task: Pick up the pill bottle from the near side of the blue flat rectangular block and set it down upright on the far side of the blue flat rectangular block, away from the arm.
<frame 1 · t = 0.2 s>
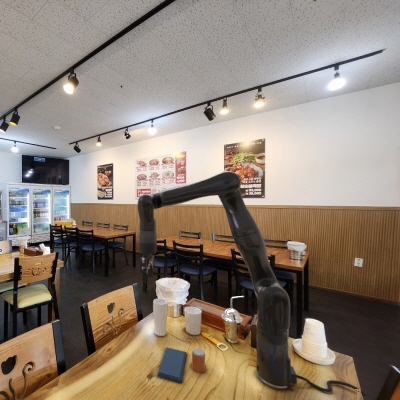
hand: (147, 279, 96), 29 cm above the table, tool pointing down, fingers open, 8 cm apart
cup with straw: (232, 341, 101), on the table
white cup: (193, 331, 109), on the table
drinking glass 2: (160, 333, 107), on the table
blue flat rectangular block: (173, 364, 86), on the table
pill bottle: (198, 367, 84), on the table
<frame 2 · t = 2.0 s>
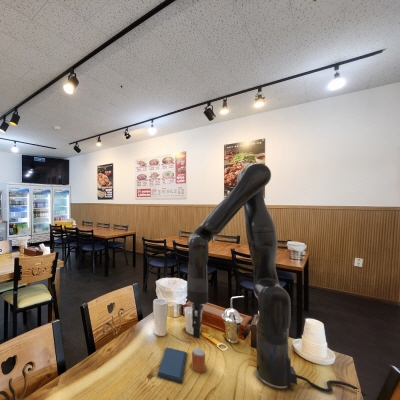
hand: (197, 331, 85), 13 cm above the table, tool pointing down, fingers open, 8 cm apart
nothing on the table moved.
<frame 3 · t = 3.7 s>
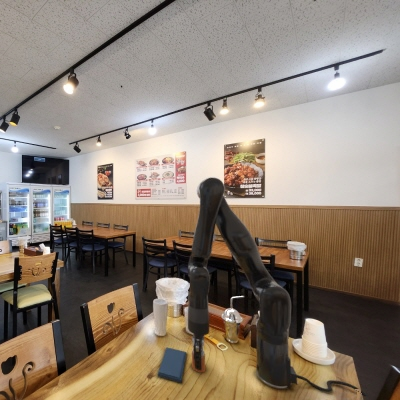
hand: (198, 364, 84), 1 cm above the table, tool pointing down, fingers closed on pill bottle, 4 cm apart
pill bottle: (198, 367, 84), on the table, touching gripper
everything else where it was.
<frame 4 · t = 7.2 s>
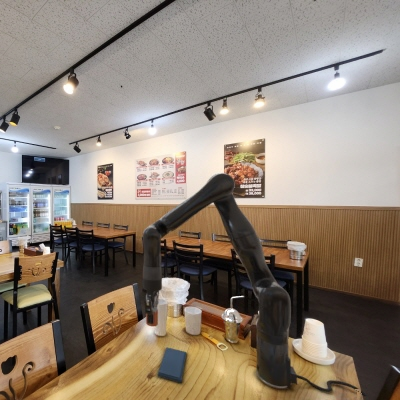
hand: (152, 319, 89), 15 cm above the table, tool pointing down, fingers closed on pill bottle, 4 cm apart
pill bottle: (152, 323, 89), point 14 cm above the table, touching gripper
everything else where it was.
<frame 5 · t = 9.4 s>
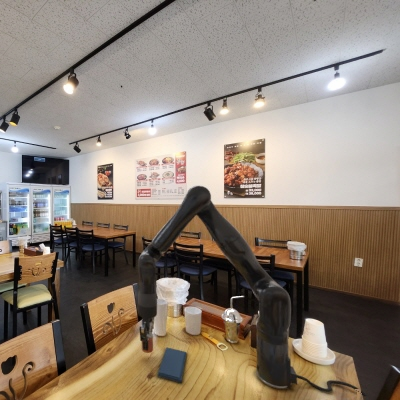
hand: (147, 345, 90), 5 cm above the table, tool pointing down, fingers closed on pill bottle, 4 cm apart
pill bottle: (147, 349, 90), point 3 cm above the table, touching gripper
everything else where it was.
when the fingers open (1 cm above the table, at t = 10.7 s): pill bottle stays where it is, on the table.
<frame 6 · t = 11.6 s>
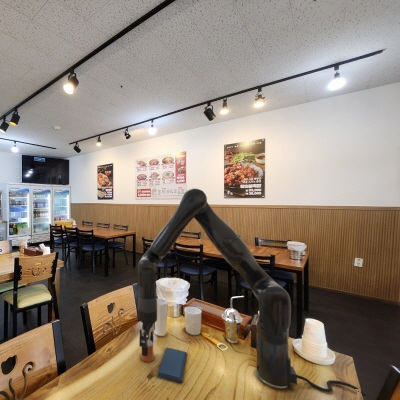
hand: (147, 349, 90), 3 cm above the table, tool pointing down, fingers open, 8 cm apart
pill bottle: (147, 357, 90), on the table
everything else where it was.
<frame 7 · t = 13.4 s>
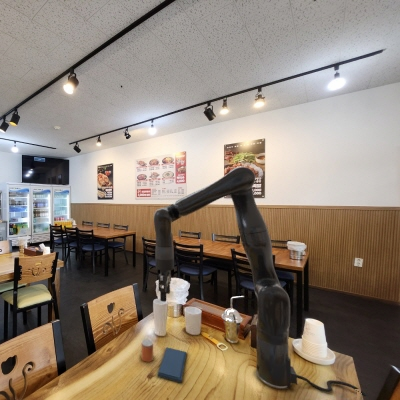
hand: (165, 296, 93), 23 cm above the table, tool pointing down, fingers open, 8 cm apart
nothing on the table moved.
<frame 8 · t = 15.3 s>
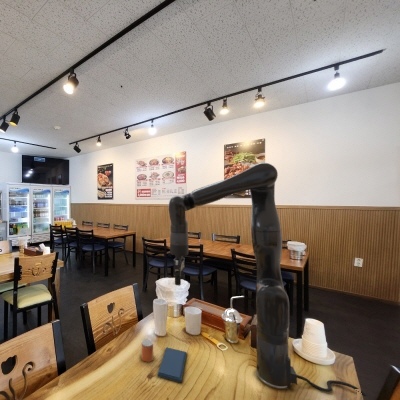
hand: (179, 281, 95), 28 cm above the table, tool pointing down, fingers open, 8 cm apart
nothing on the table moved.
at the end: pill bottle inside the target area (0.4 cm from its centre), on the table; pill bottle tilted 0° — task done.
